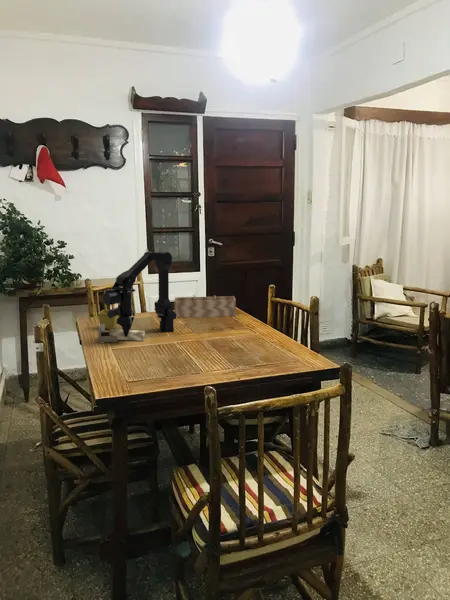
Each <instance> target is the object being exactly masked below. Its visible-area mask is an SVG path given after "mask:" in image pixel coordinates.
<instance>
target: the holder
mask: <svg viewBox="0 0 450 600" xmlns="http://www.w3.org/2000/svg"><path fill="white" fill-rule="evenodd" d="M173 303H174V307H173V308H174V309H173V311H174V312H175V313H176V314H177V317H187V318H222V316H233V317H237V300H236V297H235V296H234V295H231V296H229V295H228V296H225V295H224V296H216V295H215V294H214V295H213V296H196V295H193V296H183V297H179V296H178V297H177V296H176V297H174V301H173Z"/></svg>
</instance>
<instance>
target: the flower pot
mask: <svg viewBox="0 0 450 600" xmlns="http://www.w3.org/2000/svg"><path fill="white" fill-rule="evenodd" d="M109 310H110V309H102V310H101V311H99V312H98V313H97V315H98V322H99V324H100V325H99V326H101V324H105V328H107V329H106V330H111V329H113V328H114V329H116V328H117V326H118V324H117V319H118V318H119V316H118V315H117V316H114V317H112V318H110V319H109V316H107V315H108V314H107V312H108V311H109Z"/></svg>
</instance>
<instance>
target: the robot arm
mask: <svg viewBox="0 0 450 600" xmlns="http://www.w3.org/2000/svg"><path fill="white" fill-rule="evenodd" d="M152 261H154V262H155V263H154V264H155V266H156V269H157V270H158V274H157V275H158V300H157V301H155V302H154V312H155V314H156V315H157V318H158V319H160V321H159V330H160V332H162V333H163V332H164V333H165V332H167V333H169V332H175V331H174V330H175V326H174V325H175V324H174V322H175V321H174V320H176V319H177V318H176V317H177V314H176V313H175V311H174V309H173V305H172V302H171V301H170V298H169V297H170V296H169V295H170V293H169V290H170V289H169V276H170V275H169V270H170V268H171V266H172V262H173V256H172V254H171V252H168V251H157V252H154V251H145V252H144V253H143V255H142V256H141V257H140V258H139V259H138V260H137V261H136V262H135V263H134V264H133V265H132V266H131V267H130V268H129V269H128V270H124V271H123V272H122V273H120V274H118V275H117V276H116V278H115V282H114V284H113V286H112V287H111V289H105V290H104V291H105V292H104V294H103V296H102V301H103V303H104V304H105V305H106V306H111V305H116V304H118V305H117V307H115V308H111V309H108V310H109V311H108V312H107V314H108V315H107V316H109V319H110V318H112V317H114V316H117V315H118V316H119V318H118V319H117V325H119V326H120V327H121V328H122V329H121V330H123V332H124V335H125V337H127V336H128V333H129V330H132V325H133V323H134V320H135V317H136V311H135V310H134V309H133V303H132V302H133V298H132V295H133V294H132V293H134V292H136V289H134V288H133V285H134V284H135V283H136V281H137V278H138V276H139V275H140V274H141V273H142V271H144V270H145V269H146V268H147V267H148V266H149V265H150V263H152Z"/></svg>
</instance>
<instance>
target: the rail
mask: <svg viewBox="0 0 450 600" xmlns="http://www.w3.org/2000/svg"><path fill="white" fill-rule="evenodd" d="M108 332H109V336H117V340H118V341H121V340H122V341H134V342H135V341H141V342H144V341H145V339H146V338H145V336H146V331H145V330H137V329H136V330H135V329H133V330H132V329H130V330H129V333H128V336H127V337H125V335H124V332H123V329H118V328H114V329H109V330H108Z"/></svg>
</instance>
